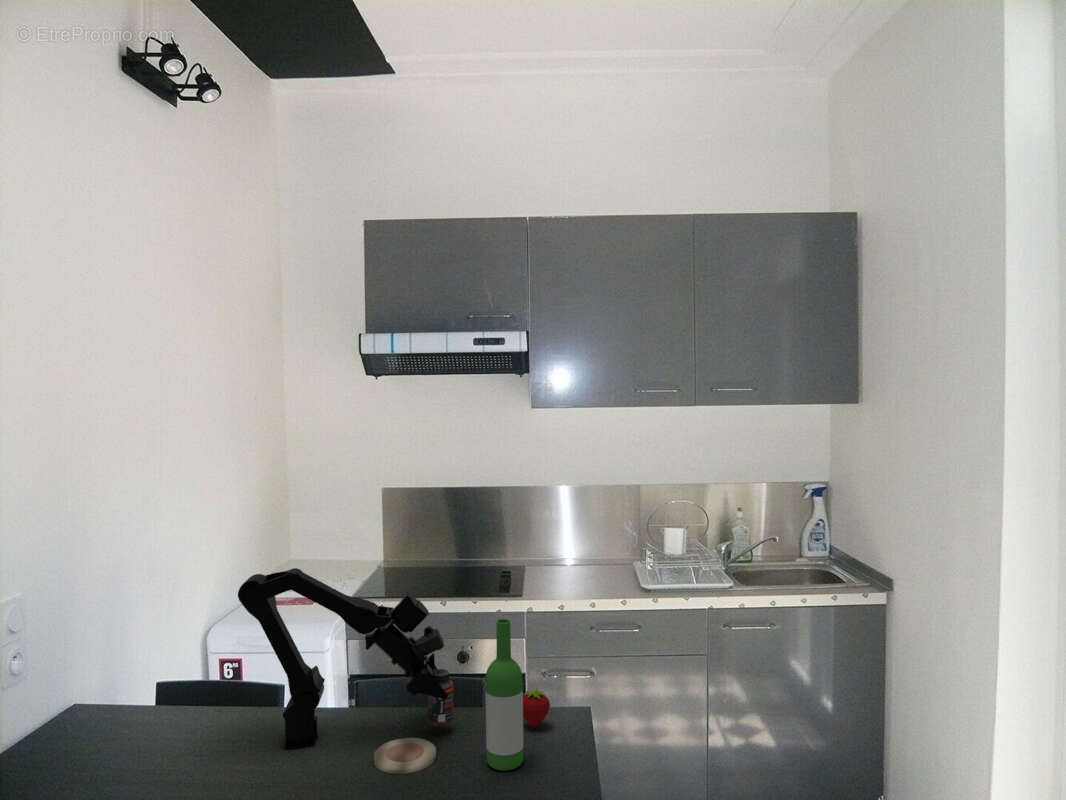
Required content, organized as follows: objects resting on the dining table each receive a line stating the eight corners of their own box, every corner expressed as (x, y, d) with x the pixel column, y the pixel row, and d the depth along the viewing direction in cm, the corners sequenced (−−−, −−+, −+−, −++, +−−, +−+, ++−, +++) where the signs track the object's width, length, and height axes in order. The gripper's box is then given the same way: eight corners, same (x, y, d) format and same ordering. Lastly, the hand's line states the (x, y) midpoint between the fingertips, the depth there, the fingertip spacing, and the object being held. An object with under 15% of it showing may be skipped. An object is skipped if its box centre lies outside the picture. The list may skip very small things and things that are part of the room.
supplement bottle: (448, 728, 165) (448, 678, 165) (423, 725, 166) (423, 676, 166) (456, 716, 171) (456, 668, 171) (432, 714, 172) (432, 666, 172)
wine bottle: (489, 774, 150) (487, 627, 149) (484, 756, 157) (482, 616, 157) (526, 770, 151) (525, 625, 151) (519, 752, 159) (518, 613, 158)
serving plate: (375, 777, 149) (375, 771, 149) (372, 747, 162) (372, 741, 162) (439, 768, 152) (439, 762, 152) (432, 739, 165) (431, 734, 165)
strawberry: (519, 721, 174) (518, 679, 173) (551, 722, 173) (550, 679, 173) (516, 733, 168) (515, 689, 168) (549, 734, 167) (549, 690, 167)
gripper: (422, 633, 159) (473, 682, 160) (423, 608, 177) (469, 651, 179) (385, 672, 158) (437, 720, 159) (390, 642, 176) (436, 685, 178)
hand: (446, 692), depth 169 cm, fingers closed on supplement bottle, 6 cm apart
